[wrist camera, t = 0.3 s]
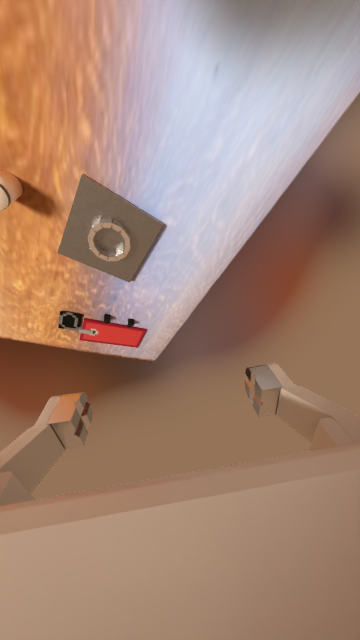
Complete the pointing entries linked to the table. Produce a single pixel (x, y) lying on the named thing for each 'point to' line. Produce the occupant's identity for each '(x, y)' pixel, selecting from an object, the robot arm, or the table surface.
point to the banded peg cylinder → (9, 189)
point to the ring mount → (107, 231)
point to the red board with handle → (103, 330)
